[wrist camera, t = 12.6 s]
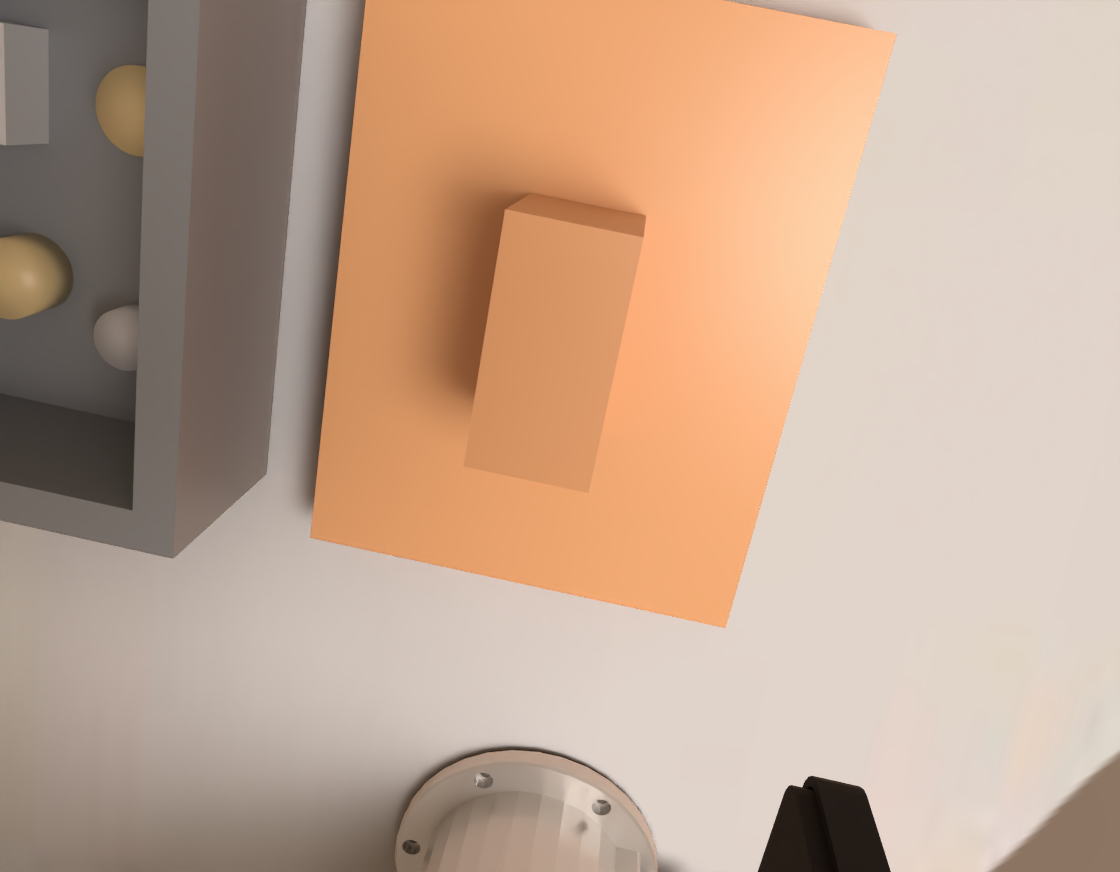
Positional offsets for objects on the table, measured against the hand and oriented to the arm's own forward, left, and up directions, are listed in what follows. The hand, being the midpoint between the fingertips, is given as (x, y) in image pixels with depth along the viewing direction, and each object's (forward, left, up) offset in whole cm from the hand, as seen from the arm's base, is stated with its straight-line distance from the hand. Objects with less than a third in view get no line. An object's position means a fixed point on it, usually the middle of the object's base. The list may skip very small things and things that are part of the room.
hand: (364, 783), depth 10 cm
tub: (+19, 0, -27) cm, 33 cm away
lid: (0, 0, -27) cm, 27 cm away
